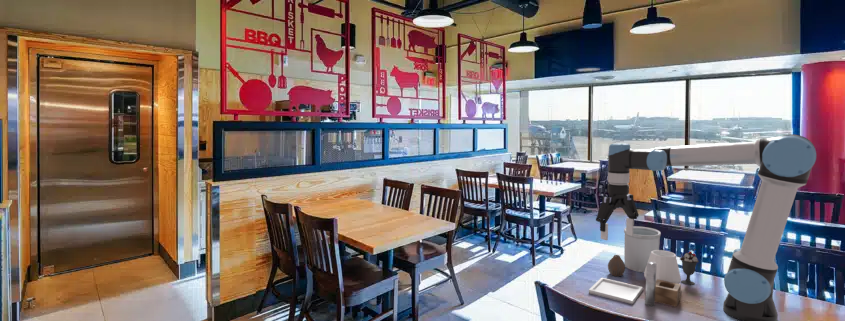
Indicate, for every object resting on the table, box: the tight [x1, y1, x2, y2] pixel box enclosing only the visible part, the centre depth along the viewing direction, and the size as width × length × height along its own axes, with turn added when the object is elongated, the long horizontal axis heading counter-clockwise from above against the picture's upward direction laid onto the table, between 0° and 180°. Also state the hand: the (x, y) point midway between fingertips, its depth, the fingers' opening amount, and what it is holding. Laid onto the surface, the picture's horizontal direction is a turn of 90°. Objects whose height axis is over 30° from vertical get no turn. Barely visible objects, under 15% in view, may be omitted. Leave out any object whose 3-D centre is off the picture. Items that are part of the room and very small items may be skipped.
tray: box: [588, 277, 644, 305], centre depth 167 cm, size 16×16×2 cm
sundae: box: [679, 248, 700, 286], centre depth 175 cm, size 7×7×15 cm
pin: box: [644, 262, 657, 307], centre depth 155 cm, size 3×3×16 cm
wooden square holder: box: [655, 279, 682, 307], centre depth 159 cm, size 8×8×6 cm
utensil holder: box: [623, 226, 662, 273], centre depth 193 cm, size 15×15×18 cm
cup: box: [643, 249, 682, 284], centre depth 172 cm, size 13×13×14 cm
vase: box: [607, 254, 626, 277], centre depth 185 cm, size 7×7×9 cm
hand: (617, 237), depth 163 cm, fingers open, 13 cm apart
